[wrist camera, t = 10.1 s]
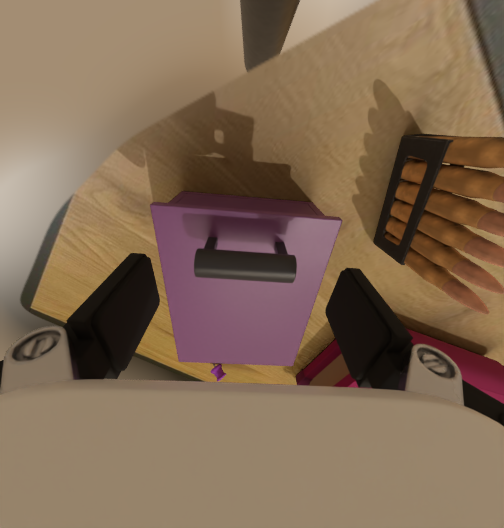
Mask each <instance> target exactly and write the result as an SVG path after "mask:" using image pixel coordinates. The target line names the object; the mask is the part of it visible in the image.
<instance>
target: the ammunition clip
mask: <svg viewBox="0 0 504 528" xmlns="http://www.w3.org/2000/svg"><path fill="white" fill-rule="evenodd" d="M442 163H450V165H445V164H442ZM464 165H465V166H472V167H480V168H502V167H503V168H504V138H503V137H459V136H446V135H432V134H416V135H406V136H403V137H402V139H401V142H400V146H399V150H398V154H397V157H396V161H395V165H394V168H393V172H392V176H391V179H390V183H389V187H388V190H387V194H386V198H385V202H384V205H383V209H382V213H381V216H380V220H379V224H378V227H377V231H376V235H375V238H374V244H375V245H376V246H378V247H379V248H380V249H382V250H383V251H384V252H385V253H387V254H388V255H389V256H391V257H392V258H393V259H394V260H396V261H397V262H398V263H400V264H401V265H405V264H406V265H407V266H408V267H410V268H411V269H412V270H413V271H415V272H416V273H417V274H418V275H420V276H421V277H422V278H423V279H425V280H426V281H428V282H430V283H431V284H433V285H435V286H436V287H438V288H439V289H441V290H442V291H444V292H445V293H447V294H448V295H449V296H450V297H452V298H453V299H455V300H456V301H458V302H460V303H461V304H463V305H465V306H467V307H469V308H471V309H473V310H475V311H477V312H480V313H483V314H489V310H488V308H487V307H486V305H485V304H484V303H483V301H482V300H481V299H480V298H479V297H478V296H477V295H476V294H475V293H474V292H473V291H472V290H471V289H469V288H468V287H467V286H465V285H464V284H463V283H461V282H460V281H459V280H458V279H457V278H455V277H454V276H453V275H451V274H450V273H449V271H451V272H453V273H455V274H456V275H458V276H460V277H461V278H463V279H465V280H466V281H468V282H470V283H472V284H474V285H476V286H478V287H481V288H483V289H486V290H488V291H491V292H495V293H500V294H504V288H503V286H502V285H501V284H500V283H499V282H498V281H497V280H496V279H495V278H494V277H493V276H492V275H491V274H490V273H488V272H487V271H485V270H484V269H483V268H481V267H480V266H478V265H476V264H475V263H473V262H471V261H470V260H469V259H467V258H466V257H464V256H463V255H461V254H460V253H459V252H458V251H457V250H456V249H455V248H457V249H459V250H461V251H463V252H465V253H468V254H470V255H472V256H474V257H476V258H478V259H481V260H483V261H486V262H488V263H491V264H494V265H497V266H501V267H504V249H503V248H502V247H500V246H498V245H497V244H495V243H493V242H491V241H489V240H487V239H484V238H483V237H481V236H479V235H477V234H475V233H473V232H472V231H470V230H469V229H468V228H466V227H465V226H463V225H461V224H464V225H469V226H472V227H475V228H477V229H482V230H484V231H487V232H489V233H492V234H495V235H499V236H502V237H504V213H501V212H498V211H497V210H494V209H491V208H488V207H486V206H484V205H482V204H480V203H479V202H477V201H475V200H472V199H468V198H465V197H470V198H482V199H488V200H492V201H499V202H503V203H504V177H502V176H499V175H497V174H495V173H492V172H489V171H483V170H476V169H470V168H464ZM417 183H418V184H417ZM434 188H436V189H434ZM438 189H440V190H438ZM452 193H454V194H452ZM455 194H458V195H462V196H465V197H461V196H458V195H455ZM453 247H454V248H453ZM404 263H405V264H404ZM447 269H448V270H449V271H448V270H447Z"/></svg>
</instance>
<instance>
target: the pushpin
mask: <svg viewBox="0 0 504 528" xmlns="http://www.w3.org/2000/svg"><path fill="white" fill-rule="evenodd" d="M213 365H214V363H213ZM214 366H215V365H214ZM221 367H222V365H221V364H219V365H217V366H215V368H213V369H212V370H211V373H213V374H215V376H216V377H217V381H219V380H221V379H222V378H223V377H224V376H225V375H226V373H224V372H223V370H222V368H221Z"/></svg>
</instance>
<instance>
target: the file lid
mask: <svg viewBox="0 0 504 528" xmlns="http://www.w3.org/2000/svg"><path fill="white" fill-rule="evenodd" d="M150 207H151V212H152V218H153V223H154V229H155V234H156V240H157V245H158V250H159V256H160V261H161V267H162V272H163V278H164V283H165V289H166V294H167V299H168V305H169V310H170V316H171V321H172V327H173V332H174V338H175V343H176V349H177V354H178V359H179V362H201V363H226V364H252V365H277V366H293V364H294V361H295V358H296V355H297V352H298V349H299V346H300V343H301V341H302V338H303V335H304V332H305V329H306V326H307V323H308V320H309V317H310V314H311V311H312V308H313V305H314V302H315V299H316V296H317V293H318V291H319V288H320V285H321V282H322V279H323V276H324V273H325V270H326V267H327V264H328V261H329V258H330V255H331V252H332V249H333V246H334V244H335V241H336V238H337V235H338V232H339V229H340V226H341V223H342V220H341V219H340V218H339V217H331V216H319V215H307V214H295V213H283V212H270V211H258V210H246V209H234V208H222V207H210V206H197V205H185V204H173V203H161V202H153V203H152V204H150Z"/></svg>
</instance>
